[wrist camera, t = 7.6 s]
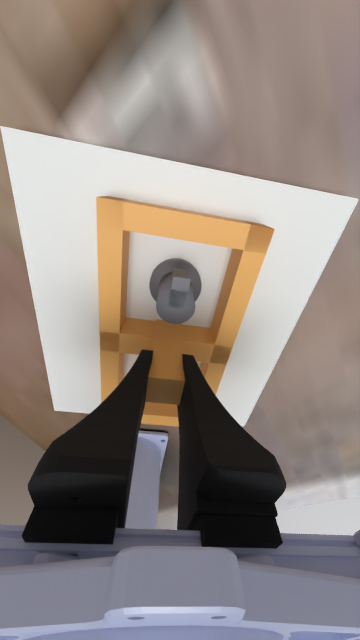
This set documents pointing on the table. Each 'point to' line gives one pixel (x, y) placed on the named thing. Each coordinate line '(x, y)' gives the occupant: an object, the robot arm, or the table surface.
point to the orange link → (160, 335)
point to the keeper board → (160, 258)
